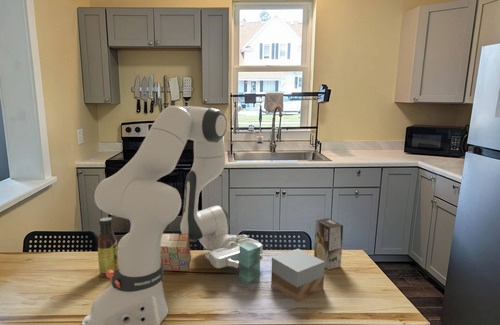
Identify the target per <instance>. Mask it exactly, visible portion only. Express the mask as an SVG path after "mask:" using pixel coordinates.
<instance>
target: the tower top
mask: <svg viewBox="0 0 500 325" xmlns="http://www.w3.org/2000/svg"><path fill="white" fill-rule="evenodd" d="M272 272H273V273H275V274H276V275H278V276H279V277H281V278H283V279H284V280H286V281H287V282H289V283H291V284H292V285H294V286H295V287H300V286H302V285H304V284H307V283H309V282H311V281H314V280H316V279H318V278H321V277H323V276H324V277H325V261H323V260H320V259H318V258H316V257H314V255H313V254H310V253H309V252H306V251H305V250H302V249H300V248H296V249H293V250H290V251H287V252H284V253H280V254H278V255H275V256H272V257H271V273H272Z"/></svg>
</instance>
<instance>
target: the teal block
mask: <svg viewBox="0 0 500 325" xmlns="http://www.w3.org/2000/svg"><path fill="white" fill-rule="evenodd" d="M239 262H240V263H241V264H240V267H239V268H238V270H239V271H238V273H239V274H238V276H239V277H238V278H239V280H240V281H242V282H243V283H245V284H246V285H247V286H248V285H252V284H254V283H256V282H258V281H260V278H261V277H260V276H261V260H260V247H259V246H258V245H256V244H254V243H252V242H250V243H246V244H243V245H240V246H239Z"/></svg>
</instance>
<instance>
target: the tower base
mask: <svg viewBox="0 0 500 325" xmlns="http://www.w3.org/2000/svg"><path fill="white" fill-rule="evenodd" d="M324 280H325V275H324V276H323V277H321V278H318V279H316V280H314V281H311V282H309V283H307V284H304V285H302V286H300V287H295V286H294V285H292V284H291V283H289V282H287V281H286V280H284V279H283V278H281V277H279V276H278V275H276V274H275V273H273V272H272V271H271V278H270V281H271V283H270V285H271V286H272V287H274V288H275V289H277V290H279V292H282V293H283V294H285V295H287V297H288V296H289V298H291V299H293V300H295V301H296V302H300V301H302V300H304V299H306V298H308V297H309V296H312V295H314V294H316V293H317V292H320V291H322V290H323V289H324V285H325V284H324Z"/></svg>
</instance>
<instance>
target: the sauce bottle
mask: <svg viewBox="0 0 500 325" xmlns="http://www.w3.org/2000/svg"><path fill="white" fill-rule="evenodd" d="M98 223H99V226H100V227H99V229H100V231H99V232H100V233H99V235H98V238H97V240H96V241H97V242H96V243H97V256H98V266H99V267H98V271H99V275H100V277H102V278H108V277H107V276H106V273H107V271H108V270H113V271H114V273H116V272H117V270H118V268H119V262H118V239H117V237H116V235H115V233H114V230H113V217H109V216H107V217H102V218H100V219H99V220H98Z"/></svg>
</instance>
